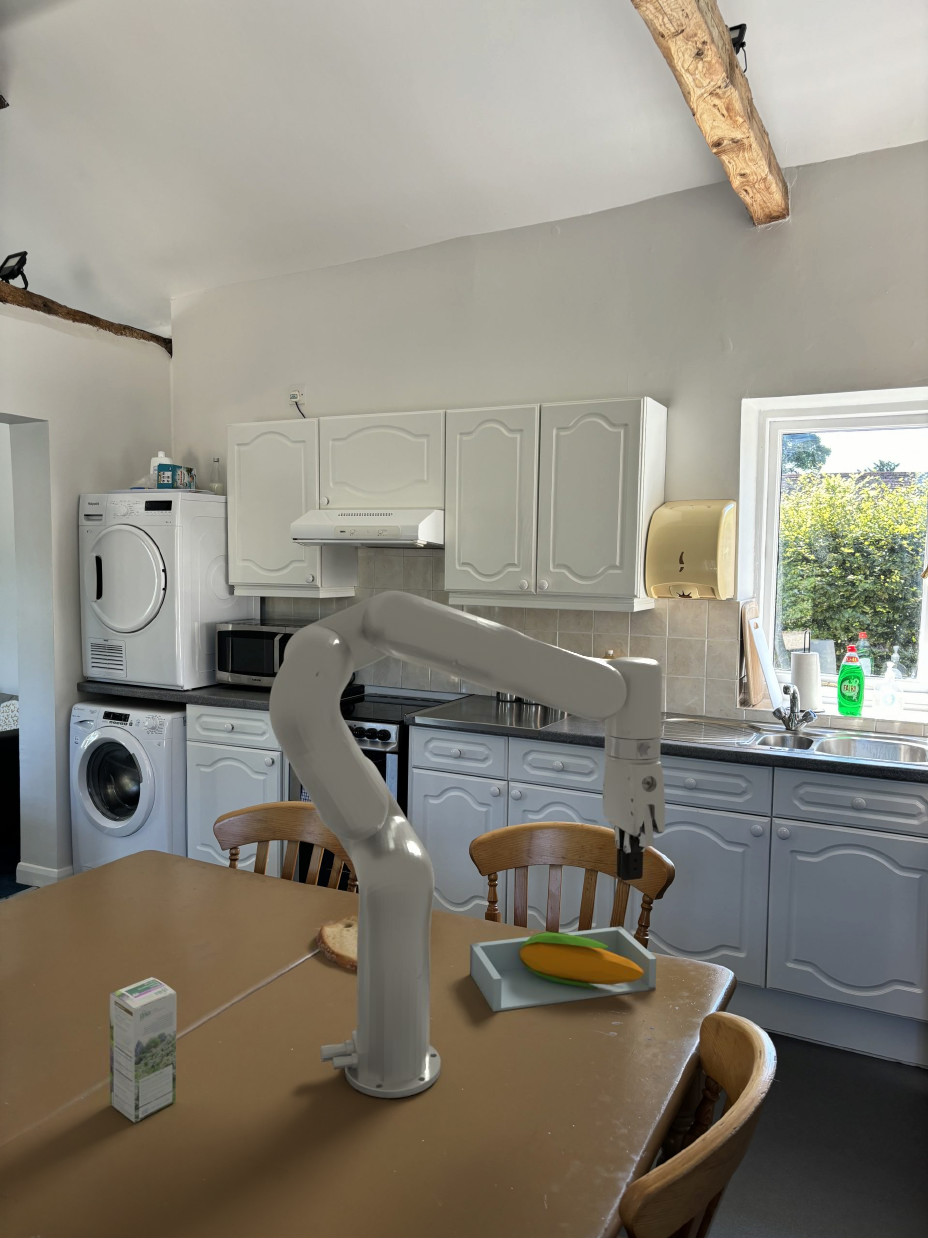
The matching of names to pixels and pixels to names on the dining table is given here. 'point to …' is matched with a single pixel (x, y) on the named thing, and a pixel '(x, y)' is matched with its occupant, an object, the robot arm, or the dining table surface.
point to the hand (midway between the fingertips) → (629, 877)
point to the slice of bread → (340, 942)
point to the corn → (576, 961)
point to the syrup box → (142, 1048)
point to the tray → (521, 988)
